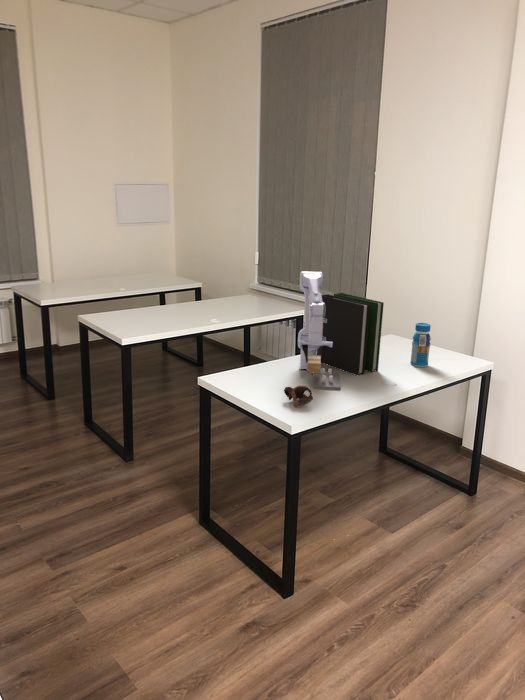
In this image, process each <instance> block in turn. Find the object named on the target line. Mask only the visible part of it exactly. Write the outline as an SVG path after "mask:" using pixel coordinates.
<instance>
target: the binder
mask: <svg viewBox="0 0 525 700" xmlns="http://www.w3.org/2000/svg"><path fill="white" fill-rule="evenodd" d="M321 295H322V301H323V302H324V303H325V316H324V317H323V334H322V341H329V342H333V344H332V347H328V350H327V352H326V354H325V356H324V358H323V362H322V363H321V364H323V363H325V364H324V365H326V364H328V365H327V366H329V365H330V366H329V367H332V366H333V367H332V368H334V367H336V368H335V369H337V368H338V369H337V370H340V369H341V371H343V370H344V371H343V372H346V371H347V373H350V374H351V373H352V375H354V374H355V376H357V375H359V376H360V374H361V373H362V374H361V375H363V374H364V375H365V371H366V370H367V371H366V372H369V371H370V372H369V373H372V372H374V371H375V370H376V371H375V372H378V371H379V362H380V352H381V351H380V350H381V341H382V340H381V339H382V328H383V327H382V325H383V317H384V316H383V313H384V304H385V303H384V302H382V301H379V300H376V299H375V300H374V299H370V298H365V297H361V296H357V295H354V294H349V293H345V292H338V293H337V292H336V293H333V295H332V294H328V293H327V294H321ZM321 353H322V346H320V347H319V349H317V352H316V355H317V356H321Z"/></svg>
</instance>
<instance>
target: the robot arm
mask: <svg viewBox="0 0 525 700" xmlns="http://www.w3.org/2000/svg"><path fill="white" fill-rule="evenodd" d="M323 277H324V276H323V272H322V271H301V272H300V273H299V289H300V291H302V292H303V294H304V327H303V328H301V329H300V330H299V332H298V336H297V346H298V348H299V349H300V356H299V357H300V362H299V364H298V365H299V366H298V369H299V370H301V369H306V370H305V371H307V364H308V355H317V349H319V347H320V346H322V353H321V364H323V363H322V362H323V358H324V356H325V354H326V352H327V350H328V347H332V344H333V342H329V341H322V334H323V317H324V316H325V303H324V302H323V301H322V295H323V294H322V293H321V292H320V290H321V288H322V285H323V280H324V279H323Z"/></svg>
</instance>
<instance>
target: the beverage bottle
mask: <svg viewBox="0 0 525 700" xmlns="http://www.w3.org/2000/svg"><path fill="white" fill-rule="evenodd" d="M431 326H432V325H431V324H430V323H426V322H417V323H416V324H415V327H414V329H415V332H414V334H413V336H412V341H411V346H412V347H411V355H410V366H413V367H416V368H426V367H428V366H429V358H430V357H429V356H430V347H431V342H430V341H431V340H432V338H431V335H430V332H431Z"/></svg>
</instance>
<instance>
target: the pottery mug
mask: <svg viewBox="0 0 525 700" xmlns="http://www.w3.org/2000/svg"><path fill="white" fill-rule="evenodd" d="M305 392H308V393H309V394H308V395H307V394H305ZM283 393H284V394H285V396H286V397H287V398H288V400H289V401H291V400H293V403H292V406H293V407H294V408H298V407H300V406H306V405H308V404H309V403H311V401H312V400H314V398H313V393H312V389H311V388H309V387H308V386H306V385H297V386H295V387H294V388H293V387H291V386H286V387H285V388H284V390H283Z"/></svg>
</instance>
